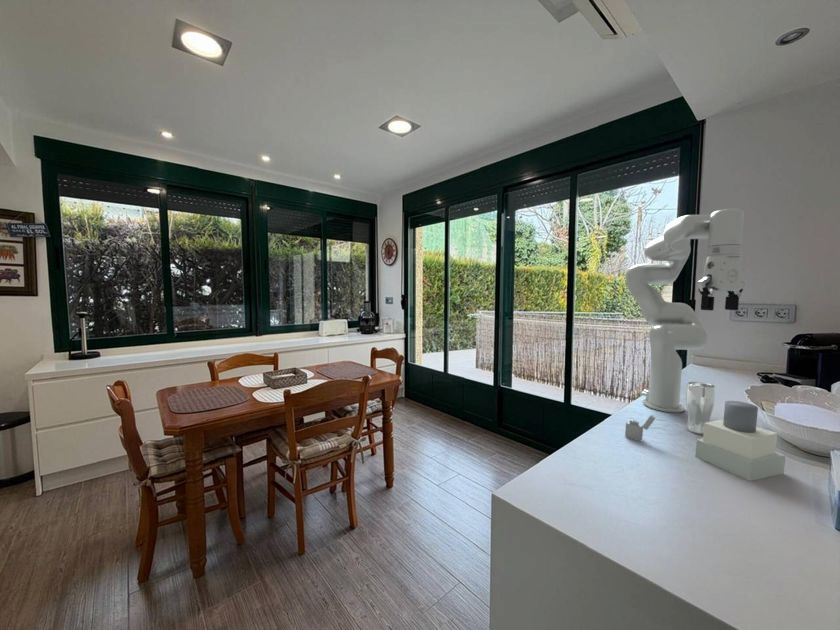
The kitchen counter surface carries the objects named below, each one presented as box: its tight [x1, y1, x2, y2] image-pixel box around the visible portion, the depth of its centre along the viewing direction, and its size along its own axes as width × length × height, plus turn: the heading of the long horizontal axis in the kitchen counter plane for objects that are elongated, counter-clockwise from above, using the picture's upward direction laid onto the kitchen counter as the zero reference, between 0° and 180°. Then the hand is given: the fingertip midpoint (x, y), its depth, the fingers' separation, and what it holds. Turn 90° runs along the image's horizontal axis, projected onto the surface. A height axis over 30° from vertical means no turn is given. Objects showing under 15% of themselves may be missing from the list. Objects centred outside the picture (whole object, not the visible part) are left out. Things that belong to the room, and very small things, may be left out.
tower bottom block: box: [694, 438, 786, 482], centre depth 86 cm, size 12×12×5 cm
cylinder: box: [723, 400, 759, 433], centre depth 85 cm, size 6×6×6 cm
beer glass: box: [685, 381, 716, 436], centre depth 106 cm, size 7×7×15 cm
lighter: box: [624, 415, 657, 442], centre depth 100 cm, size 7×2×8 cm, turn 45°
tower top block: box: [702, 418, 778, 460], centre depth 86 cm, size 10×10×5 cm
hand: (719, 309), depth 102 cm, fingers open, 9 cm apart
